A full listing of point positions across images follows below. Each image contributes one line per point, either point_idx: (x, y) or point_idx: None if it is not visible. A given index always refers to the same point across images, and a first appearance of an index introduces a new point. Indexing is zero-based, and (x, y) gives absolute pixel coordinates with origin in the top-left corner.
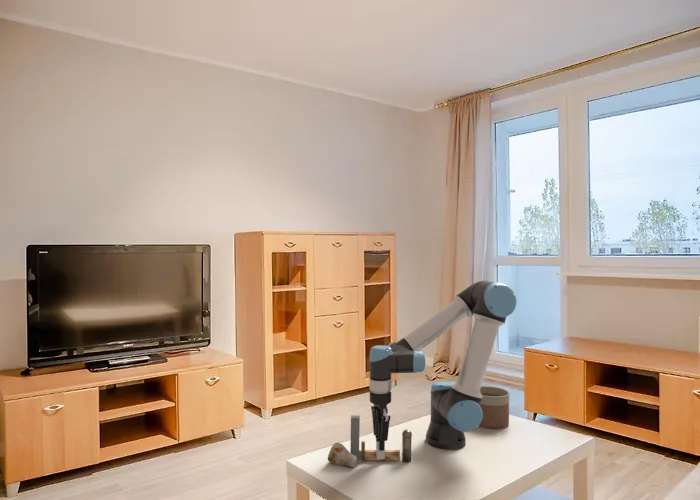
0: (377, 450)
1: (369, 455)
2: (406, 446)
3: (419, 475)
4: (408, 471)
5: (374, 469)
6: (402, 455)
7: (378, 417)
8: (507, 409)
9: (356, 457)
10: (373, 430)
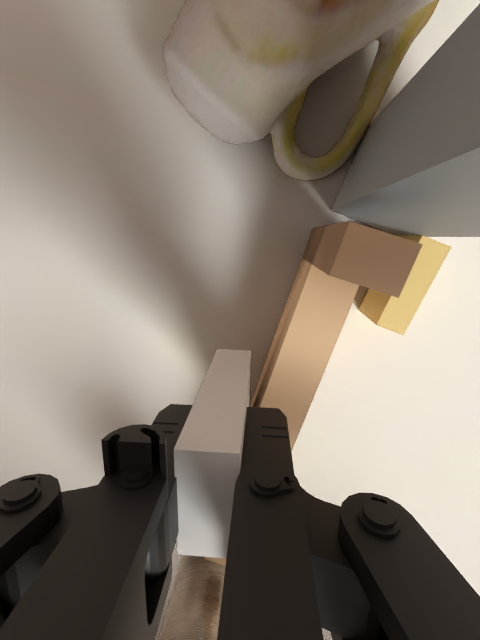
0: (205, 383)
1: (291, 305)
2: None
3: None
4: (64, 479)
5: (135, 279)
6: None
7: None
8: None
9: (345, 183)
10: (454, 572)
